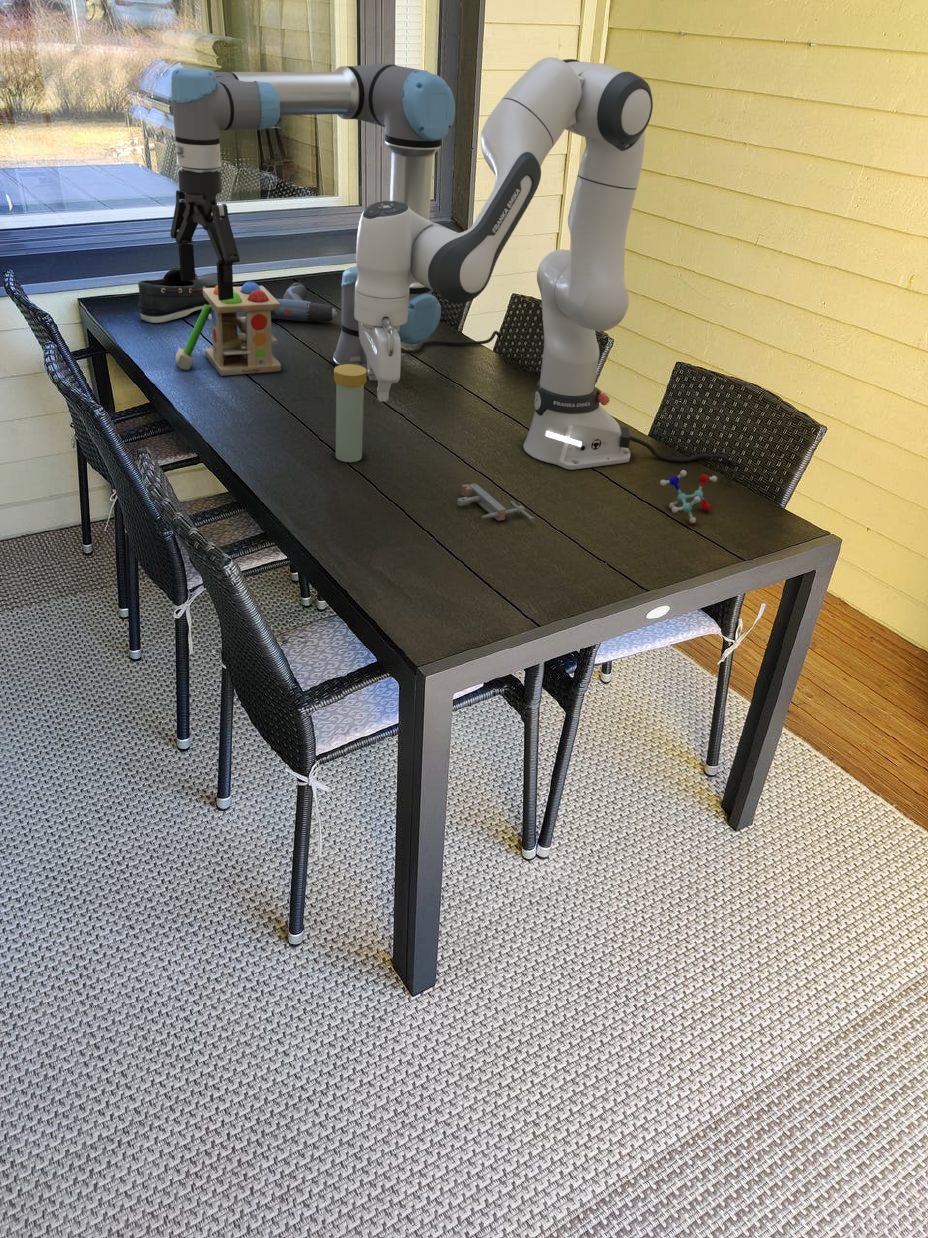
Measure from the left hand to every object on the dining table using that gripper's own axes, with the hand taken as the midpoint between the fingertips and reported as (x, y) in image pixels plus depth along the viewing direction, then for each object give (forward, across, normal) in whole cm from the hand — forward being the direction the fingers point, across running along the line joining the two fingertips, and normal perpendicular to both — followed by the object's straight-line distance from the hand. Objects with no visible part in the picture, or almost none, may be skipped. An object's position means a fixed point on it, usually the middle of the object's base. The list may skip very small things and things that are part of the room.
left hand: (206, 289), depth 186 cm
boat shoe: (+28, -71, +34) cm, 84 cm away
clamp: (+28, +59, +22) cm, 69 cm away
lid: (+10, +26, +15) cm, 31 cm away
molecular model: (+28, +80, +53) cm, 100 cm away
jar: (+28, +26, +15) cm, 41 cm away
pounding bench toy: (+28, -29, +20) cm, 45 cm away
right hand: (+6, +44, +7) cm, 45 cm away
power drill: (+28, -53, +60) cm, 84 cm away
